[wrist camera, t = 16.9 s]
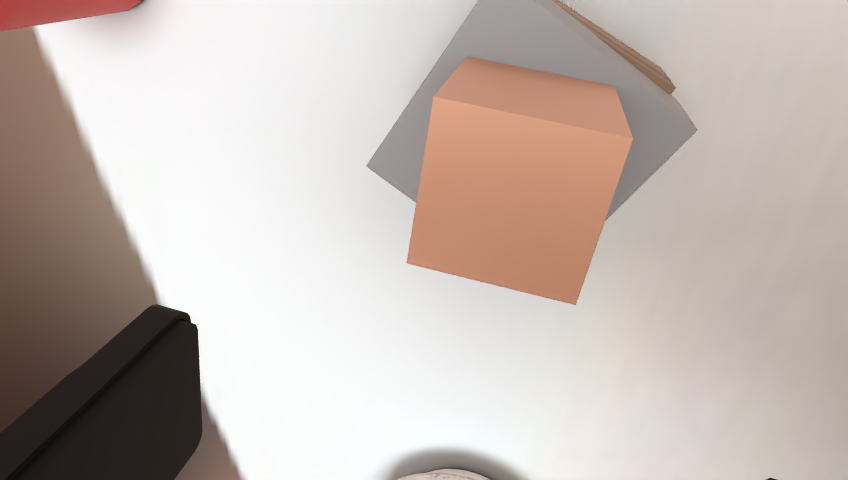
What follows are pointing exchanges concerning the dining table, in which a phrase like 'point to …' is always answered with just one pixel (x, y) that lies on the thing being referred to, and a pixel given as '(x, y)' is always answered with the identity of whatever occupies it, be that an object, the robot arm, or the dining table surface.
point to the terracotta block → (518, 177)
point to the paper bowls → (445, 475)
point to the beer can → (55, 11)
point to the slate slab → (550, 52)
